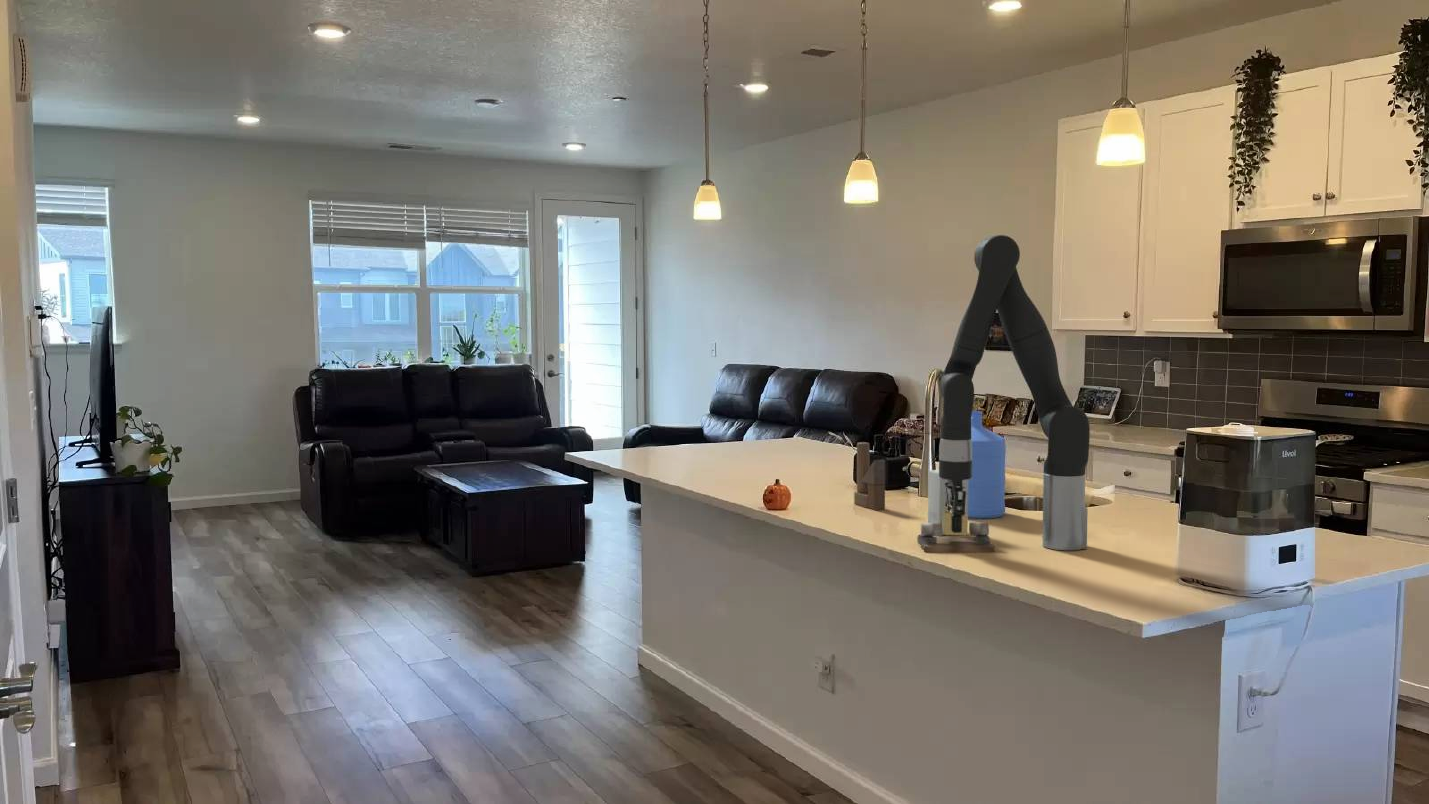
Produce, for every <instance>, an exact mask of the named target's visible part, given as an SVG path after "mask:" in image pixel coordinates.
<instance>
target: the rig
mask: <svg viewBox="0 0 1429 804" xmlns="http://www.w3.org/2000/svg"><path fill="white" fill-rule="evenodd" d="M968 531H969V532H968V533H969V536H943V535H942V524H941V523H928V522H927V523H925V522H924V523H923V522H921V523H920V534H918V535H917V538H916V539H917V541H918V542H917V544H918V545H919V544H920V545H921V546H920V545H919V546H920V548H921V547H922V548H921V549H922V551H923V550H924V551H923V552H924V553H995V552H996V551H995V545H994V544H992V542H991V541H990V537H989V535H990V534H989V533H990V526H989V523H988V522H969V524H968Z"/></svg>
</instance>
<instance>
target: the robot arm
mask: <svg viewBox="0 0 1429 804" xmlns="http://www.w3.org/2000/svg"><path fill="white" fill-rule="evenodd" d="M1020 252H1021V251H1020V248H1019V245H1018V243H1017V242H1016V241H1015V240H1014V239H1013V238H1012V237H1010V236H1008V235H1004V234H997V235H993V236H990V237H987V238H985V239H983V240H981V241H980V242H979V243H978V244H977V246H976V248H975V250H974V253H973V254H974V255H973V256H974V257H973V259H974V264H975V267H976V269H977V271H978V276H977V281H976V285H975V288H974V291H973V294H972V296H971V300H970V301H969V304H968V306H967V308H966V310H965V312H964V315H963V317H962V319H961V321H960V325H959V326H958V329H957V333H956V336H955V340H954V343H953V346H952V350H951V354H950V357H949V359H948V361H947V363H946V366H945V368H944V370H943V373H942V376H941V379H940V383H939V391H940V394H941V395H942V397H943V414H942V416H941V420H940V441H939V448H938V449H939V450H938V454H939V455H938V470H939V477H940V478H942V479H947V480H948V482H945V506H946V507H947V508H946V509H951V512H952V513H951V515H952V532H953V533H961V532H962V517H963V515H964V514H965V499H966V491H965V487H963V483H962V481H963V480H968V479H970V478H971V477H972V443H971V429H972V427H971V416H972V412H973V408H974V407H973V406H974V400H975V386H974V385H975V384H974V382H973V378H974V375H975V371H976V368H977V366H978V365H979V364H980V363H981V361H982V359H983V356H984V353H985V350H986V347H987V342H988V341H989V337H990V332H991V329H992V327H993V323H994V321H995V320H994V319H995V316H996V314H997V313H998V317H999V320H1000V323H1001V327H1002V329H1003V331H1004V334H1005V337H1006V339H1007V342H1008V345H1009V348H1010V350H1011V352H1012V354H1013V357H1014V359H1015V361H1016V364H1017V366H1018V368H1019V371H1020V373H1021V375H1022V376H1023V378H1024V381H1025V383H1026V385H1027V387H1028V389H1029V391H1030V394H1031V396H1032V399H1033V403H1034V406H1035V409H1036V412H1037V416H1038V420H1039V424H1040V427H1041V430H1042V432H1043V435H1045V436H1046V437H1047V439H1048V441H1047V455H1046V459H1045V460H1044V462H1043V485H1042V486H1043V487H1042V489H1043V490H1042V491H1043V492H1042V493H1043V494H1042V497H1043V499H1042V546H1043V547H1044V548H1046V549H1047V548H1048V549H1050V550H1056V551H1077V550H1087V549H1088V512H1089V511H1088V507H1086V506H1085V505H1086V470H1087V465H1088V462H1089V457H1090V440H1091V439H1090V436H1091V435H1090V434H1091V433H1090V432H1091V430H1090V429H1091V428H1090V421H1089V417H1088V416H1087V414H1086V413H1085V412H1084V411H1083V410H1082V409H1081V408H1079V407H1077V406H1074V405H1073V404H1072V402H1071V400H1070V399H1069V396H1068V395H1067V392H1066V391H1065V387H1064V386H1063V383H1062V380H1061V378H1060V373H1059V366H1058V358H1057V357H1058V356H1057V351H1056V347H1055V344H1054V341H1053V338H1052V337H1051V336H1052V335H1051V334H1050V331H1049V329H1048V326H1047V324H1046V321H1045V320H1044V318H1043V316H1042V314H1041V313H1040V311H1039V309H1038V308H1037V307H1036V304H1034V302H1033V300H1032V299H1031V298H1030V297H1029V295H1028V294H1027V292H1026V290H1025V288H1024V286H1023V284H1022V282H1021V281H1022V280H1021V278H1020V275H1019V273H1018V269H1017V265H1018V264H1019V261H1020V257H1021V253H1020ZM996 312H997V313H996ZM958 507H960V510H956V509H958Z"/></svg>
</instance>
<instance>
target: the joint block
mask: <svg viewBox="0 0 1429 804" xmlns="http://www.w3.org/2000/svg"><path fill="white" fill-rule="evenodd" d="M956 510H958V509H956ZM951 513H952V512H951V509H942V531H943V533H944V534H945V535H944V536H949V535H950V536H953V535H954V536H968V533H967V531H968V528H967V513H966V512H965V514H964V515H963V517H962V532H961V533H953V532H952V515H951Z"/></svg>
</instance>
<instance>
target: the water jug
mask: <svg viewBox="0 0 1429 804" xmlns="http://www.w3.org/2000/svg"><path fill="white" fill-rule="evenodd" d="M971 427H972V429H971V443H972V477H971V478H970V479H968V519H973V520H974V519H975V520H976V519H977V520H987V519H995V518H1001V517H1003V516H1004V515H1005V513H1006V505H1005V501H1006V500H1005V497H1006V496H1005V495H1006V494H1005V493H1006V492H1005V489H1006V488H1005V486H1006V453H1007V446H1006V439H1005V438H1004V436H1001V435H999V434H997V433H995V432H993V431H991V430H990V429H987V428H985V427H984V426H983V411H977V410H976V411H973V410H972V416H971Z"/></svg>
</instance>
